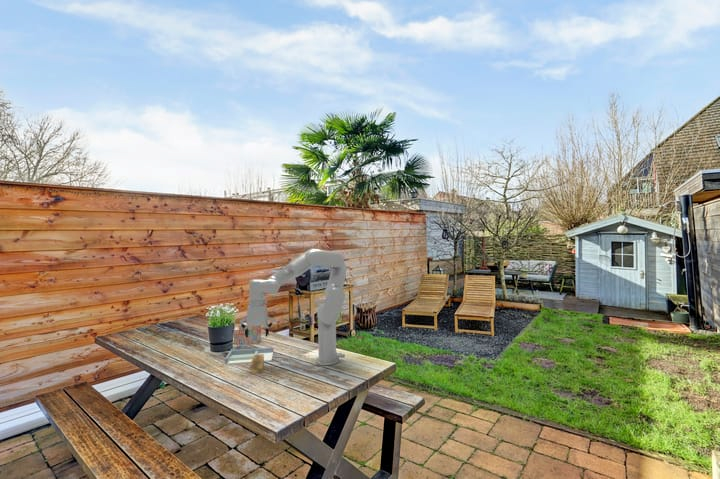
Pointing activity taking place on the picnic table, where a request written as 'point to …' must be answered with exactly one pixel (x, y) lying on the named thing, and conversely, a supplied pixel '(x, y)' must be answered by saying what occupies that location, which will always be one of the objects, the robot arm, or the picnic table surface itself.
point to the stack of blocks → (253, 335)
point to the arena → (248, 355)
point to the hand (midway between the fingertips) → (256, 336)
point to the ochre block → (257, 363)
